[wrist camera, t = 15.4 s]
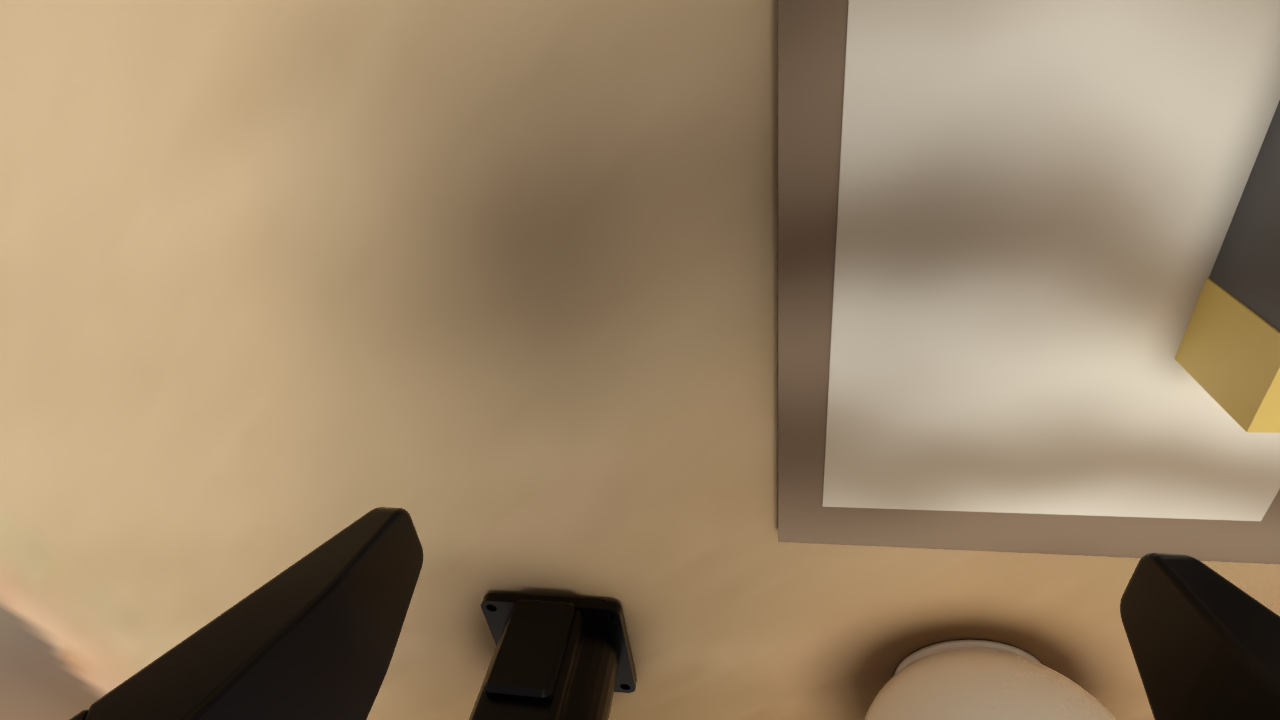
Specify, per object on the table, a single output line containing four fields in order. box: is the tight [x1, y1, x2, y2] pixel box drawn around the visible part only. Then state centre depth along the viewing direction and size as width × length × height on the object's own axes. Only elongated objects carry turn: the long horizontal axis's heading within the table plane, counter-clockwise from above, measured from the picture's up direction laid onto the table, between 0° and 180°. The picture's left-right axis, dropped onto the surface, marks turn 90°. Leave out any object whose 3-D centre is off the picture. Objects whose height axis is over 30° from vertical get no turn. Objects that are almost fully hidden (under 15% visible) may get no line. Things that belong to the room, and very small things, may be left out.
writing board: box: [778, 0, 1280, 564], centre depth 16 cm, size 22×16×1 cm
